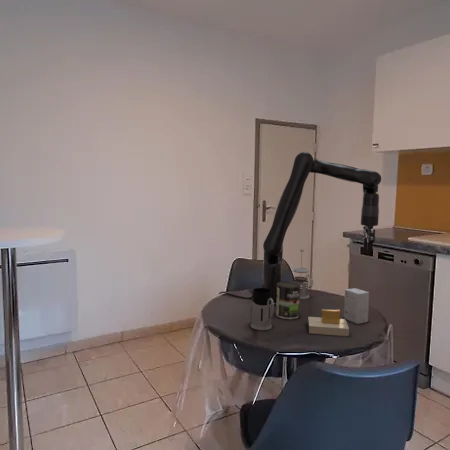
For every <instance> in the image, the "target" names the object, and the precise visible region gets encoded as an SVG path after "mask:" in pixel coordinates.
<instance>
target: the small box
mask: <svg viewBox="0 0 450 450" xmlns="http://www.w3.org/2000/svg"><path fill="white" fill-rule="evenodd" d="M369 303H370V292H369V291H367V290H362V289H360V288H356V287H352V288H346V289H344V303H343V305H344V307H343V319H345V320H346V321H349V322H351V323H353V324H356V325H360V324H365V323H368V321H369V306H370V304H369Z"/></svg>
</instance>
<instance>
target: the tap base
mask: <svg viewBox="0 0 450 450" xmlns="http://www.w3.org/2000/svg"><path fill="white" fill-rule="evenodd" d="M307 329H308V334H313V335H327V336H341V337H350V327H349V325H348V322H347V319H344V318H340V324H334V323H322V322H321V316H320V317H318V316H308V317H307Z"/></svg>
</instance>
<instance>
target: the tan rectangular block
mask: <svg viewBox="0 0 450 450" xmlns="http://www.w3.org/2000/svg"><path fill="white" fill-rule="evenodd" d="M320 318H321V322H322V323H334V324H340V319H341V310H340V309H328V308H327V309H325V308H321V316H320Z"/></svg>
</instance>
